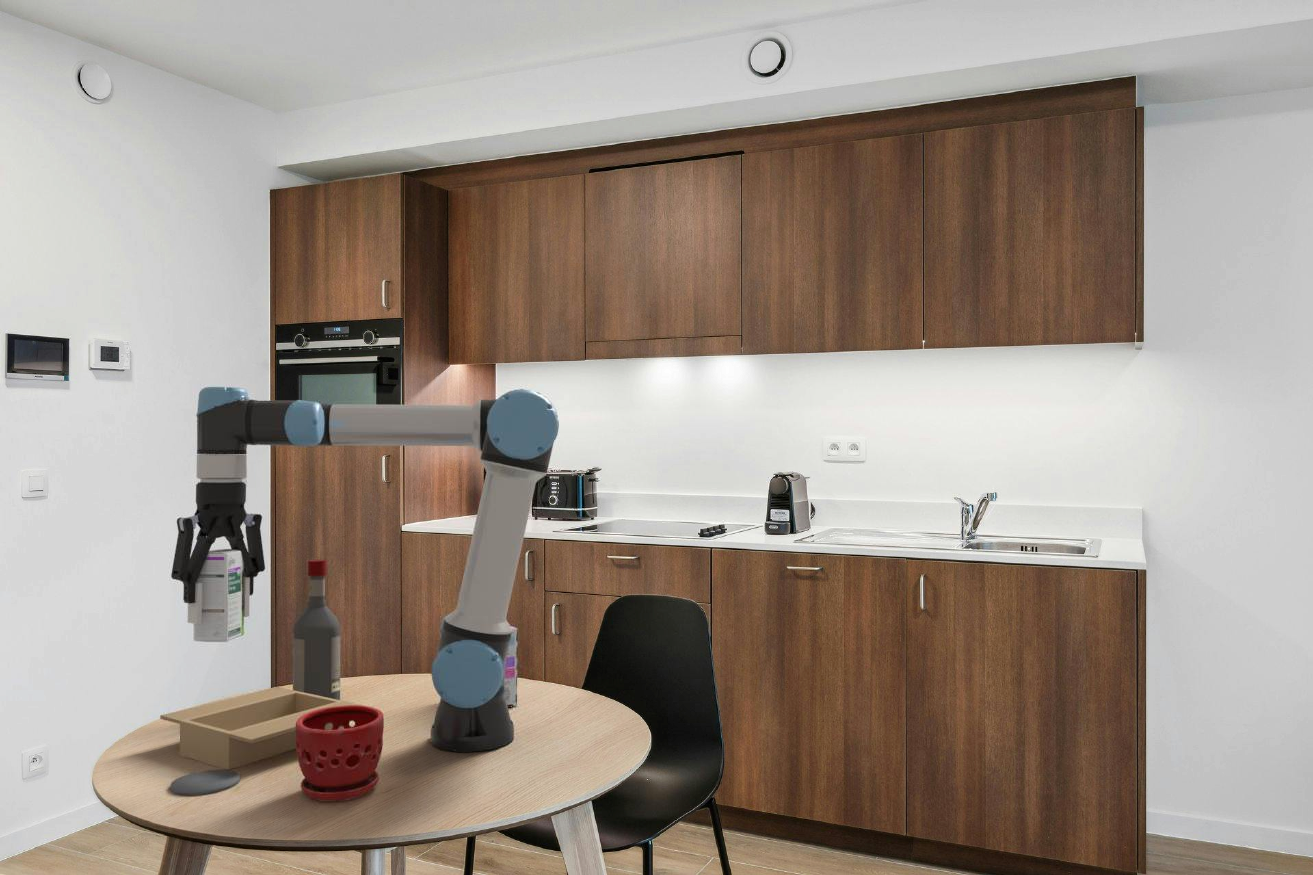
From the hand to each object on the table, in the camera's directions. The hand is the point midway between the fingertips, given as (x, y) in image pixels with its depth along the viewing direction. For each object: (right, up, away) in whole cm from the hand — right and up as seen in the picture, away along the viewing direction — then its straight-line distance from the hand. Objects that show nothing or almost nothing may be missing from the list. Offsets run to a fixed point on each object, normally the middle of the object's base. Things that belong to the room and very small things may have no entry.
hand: (218, 619), depth 156 cm
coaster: (0, -25, -5) cm, 26 cm away
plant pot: (+23, -26, -8) cm, 35 cm away
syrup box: (0, -3, 0) cm, 3 cm away
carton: (+1, -26, +16) cm, 30 cm away
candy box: (+37, -26, +45) cm, 64 cm away
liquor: (0, -26, +43) cm, 51 cm away
